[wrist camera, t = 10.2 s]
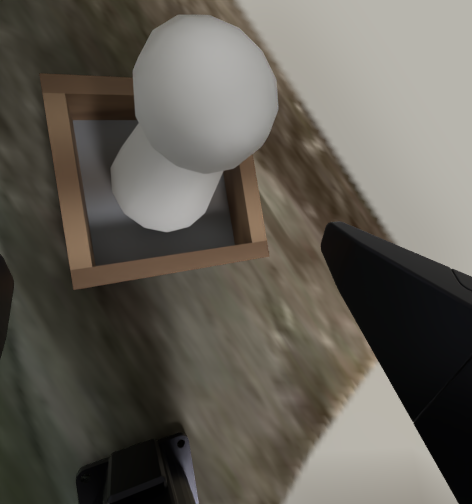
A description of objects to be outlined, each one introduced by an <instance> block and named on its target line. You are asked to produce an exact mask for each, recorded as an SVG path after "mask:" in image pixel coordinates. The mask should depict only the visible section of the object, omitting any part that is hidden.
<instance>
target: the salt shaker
mask: <svg viewBox="0 0 472 504" xmlns="http://www.w3.org/2000/svg"><path fill="white" fill-rule="evenodd" d="M133 88H134V103H135V116H136V118H137V120H138V122H139V123H138V125H137V126H136V128H135V129H134V130H133V132H132V133H131V135H130V136H129V137H128V139H127V140H126V142H125V143H124V144H123V146H122V147H121V149H120V151H119V153H118V154H117V156H116V158H115V160H114V162H113V164H112V166H111V168H110V169H111V183H112V193H113V194H114V196H115V198H116V200H117V202H118V204H119V205H120V207H121V209H122V211H123V213H124V214H125V215H127V216H128V217H130V218H131V219H133V220H134V221H135V222H137V223H138V224H140V225H141V226H143V227H144V228H148V229H153V230H158V231H163V232H170V231H174V230H178V229H182V228H186V227H189V226H191V225H192V224H193V223H194V222H195V221H196V220H198V219H199V218H200V217H201V216H202V215H203V214H205V212H206V210H207V208H208V205H209V203H210V201H211V198H212V196H213V194H214V192H215V189H216V187H217V185H218V183H219V180H220V178H221V176H222V173H223V171H225V170H229V169H234V168H235V167H237V166H238V165H239V164H241V163H242V162H243V161H244V160H246V159H247V158H248V157H249V156H250V155H252V154H253V153H254V152H255V151H257V150H258V149H259V148H260V147H261V146H263V144H264V142H265V140H266V139H267V137H268V135H269V133H270V130H271V128H272V125H273V122H274V119H275V117H276V114H277V111H278V96H277V80H276V78H275V76H274V74H273V72H272V70H271V68H270V66H269V64H268V62H267V60H266V57H265V55H264V53H263V51H262V50H261V49H260V48H259V47H258V46H257V45H256V44H255V43H254V42H253V41H252V40H251V39H250V38H249V37H248V36H247V35H246V34H245V33H244V32H243V31H242V30H241V29H240V28H238V27H236V26H234V25H231V24H229V23H227V22H224V21H222V20H220V19H217V18H215V17H213V16H210V15H177V16H175V17H173V18H172V19H170V20H169V21H167V22H165V23H164V24H162V25H160V26H159V27H157V28H155V29H154V30H152V32H151V34H150V36H149V38H148V40H147V42H146V44H145V45H144V47H143V49H142V51H141V53H140V55H139V57H138V59H137V62H136V64H135V66H134V69H133Z"/></svg>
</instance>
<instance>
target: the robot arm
mask: <svg viewBox="0 0 472 504" xmlns="http://www.w3.org/2000/svg"><path fill="white" fill-rule="evenodd" d="M321 251H322V253H323V256H324V258H325V260H326V263H327V265H328V267H329V270H330V272H331V274H332V277H333V279H334V282H335V284H336V286H337V288H338V290H339V292H340V294H341V296H342V298H343V299H344V301H345V303H346V305H347V306H348V308H349V310H350V312H351V313H352V315H353V317H354V319H355V321H356V322H357V324H358V326H359V328H360V329H361V331H362V333H363V335H364V336H365V338H366V340H367V342H368V344H369V345H370V347H371V349H372V351H373V352H374V354H375V356H376V358H377V360H378V361H379V363H380V365H381V367H382V368H383V370H384V372H385V373H386V375H387V377H388V379H389V381H390V382H391V384H392V386H393V388H394V390H395V391H396V393H397V395H398V397H399V398H400V400H401V402H402V404H403V405H404V407H405V409H406V411H407V413H408V414H409V416H410V418H411V420H412V421H413V422H414V425H415V427H416V429H417V430H418V432H419V434H420V436H421V438H422V440H423V441H424V443H425V445H426V447H427V448H428V450H429V452H430V454H431V455H432V457H433V459H434V461H435V462H436V464H437V466H438V468H439V470H440V471H441V473H442V475H443V477H444V478H445V480H446V482H447V484H448V486H449V487H450V489H451V491H452V493H453V494H454V496H455V498H456V500H457V502H458V503H459V504H472V277H471V276H469V275H466V274H464V273H462V272H459V271H457V270H454V269H450V268H449V267H447V266H445V265H443V264H440V263H438V262H435V261H433V260H431V259H428V258H426V257H424V256H421V255H419V254H417V253H414V252H412V251H409V250H407V249H405V248H402V247H400V246H398V245H395V244H393V243H391V242H388V241H386V240H383V239H381V238H379V237H376V236H374V235H372V234H369V233H367V232H364V231H362V230H360V229H357V228H355V227H353V226H350V225H348V224H346V223H343V222H330V223H328V224H327V225H326V228H325V231H324V235H323V238H322V242H321ZM13 289H14V280H13V277H12V275H11V273H10V271H9V269H8V267H7V264H6V262H5V260H4V258H3V257H2V255H1V254H0V358H1V355H2V351H3V348H4V344H5V340H6V335H7V330H8V323H9V316H10V310H11V303H12V296H13ZM181 439H183V440H184V441H183V443H182V444H181V445H178V444H177V442H178V441H179V440H181ZM84 474H89V475H90V477H89V478H88V479H83V478H82V476H83V475H84ZM76 485H77V492H78V498H79V504H199V502H198V496H197V489H196V483H195V477H194V471H193V464H192V458H191V452H190V446H189V440H188V438H187V435H186V434H185V433H182V432H181V433H177V434H174V435H171V436H168V437H165V438H162V439H160V440H155V439H151V440H148V441H146V442H143V443H140V444H137V445H134V446H131V447H128V448H126V449H123V450H120V451H117V452H114V453H112V454H111V456H110V457H109V458H106V459H103V460H100V461H97V462H94V463H92V464H89V465H86V466H84V467H82V468H81V469H80V470H79V471H78V473H77V477H76Z"/></svg>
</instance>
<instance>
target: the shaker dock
mask: <svg viewBox="0 0 472 504" xmlns="http://www.w3.org/2000/svg"><path fill="white" fill-rule="evenodd" d="M39 75H40V81H41V87H42V94H43V100H44V106H45V113H46V119H47V125H48V132H49V138H50V144H51V151H52V157H53V163H54V170H55V176H56V182H57V189H58V195H59V201H60V208H61V214H62V220H63V227H64V233H65V239H66V246H67V252H68V258H69V265H70V271H71V278H72V284H73V290H77V289H82V288H88V287H94V286H100V285H106V284H112V283H117V282H123V281H129V280H135V279H141V278H146V277H152V276H158V275H164V274H170V273H176V272H181V271H187V270H193V269H199V268H205V267H211V266H216V265H222V264H228V263H234V262H240V261H246V260H251V259H257V258H263V257H269V251H268V245H267V238H266V232H265V226H264V220H263V214H262V208H261V202H260V196H259V190H258V184H257V178H256V172H255V166H254V159H253V154H252V155H250V156H249V157H248V158H247V159H246V160H244V161H243V162H242V163H241V164H239V165H238V166H237V167H235V168H234V169H229V170H225V171H223V173H222V176H221V178H220V180H219V183H218V185H217V187H216V189H215V192H214V194H213V196H212V198H211V201H210V203H209V205H208V208H207V210H206V212H205V214H203V215H202V216H201V217H200V218H199V219H198V220H196V221H195V222H194V223H193V224H192V225H191V226H189V227H186V228H182V229H178V230H174V231H170V232H163V231H158V230H153V229H148V228H144V227H143V226H141V225H140V224H138V223H137V222H135V221H134V220H133V219H131V218H130V217H128V216H127V215H125V214H124V213H123V211H122V209H121V207H120V205H119V204H118V202H117V200H116V198H115V196H114V194H113V193H112V183H111V169H110V168H111V166H112V164H113V162H114V160H115V158H116V156H117V154H118V153H119V151H120V149H121V147H122V146H123V144H124V143H125V142H126V140H127V139H128V137H129V136H130V135H131V133H132V132H133V130H134V129H135V128H136V126H137V125H138V123H139V122H138V120H137V118H136V116H135V103H134V88H133V78H132V77H109V76H87V75H65V74H43V73H39Z"/></svg>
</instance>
